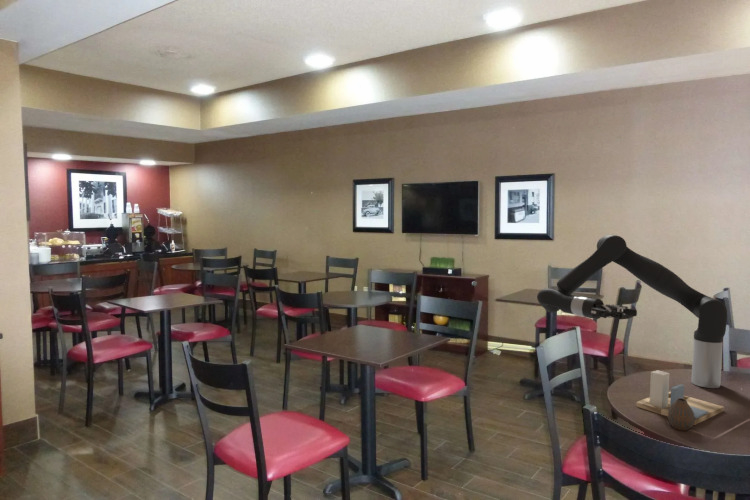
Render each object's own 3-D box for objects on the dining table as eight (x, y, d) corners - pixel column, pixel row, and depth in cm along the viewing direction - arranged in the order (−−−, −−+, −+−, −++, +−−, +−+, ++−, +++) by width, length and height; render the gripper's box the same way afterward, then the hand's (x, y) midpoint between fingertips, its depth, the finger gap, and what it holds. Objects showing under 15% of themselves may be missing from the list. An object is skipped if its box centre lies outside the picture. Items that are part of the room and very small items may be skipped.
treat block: (655, 405, 172) (657, 370, 171) (667, 408, 168) (669, 373, 168) (649, 407, 169) (650, 372, 169) (661, 411, 166) (663, 375, 165)
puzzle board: (666, 396, 182) (666, 390, 182) (723, 412, 167) (723, 406, 167) (636, 407, 170) (636, 401, 170) (694, 426, 156) (694, 420, 156)
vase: (690, 425, 157) (692, 397, 156) (696, 434, 150) (698, 405, 150) (665, 421, 159) (666, 394, 159) (670, 430, 153) (671, 402, 152)
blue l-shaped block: (680, 405, 167) (681, 383, 166) (707, 413, 160) (708, 390, 160) (668, 410, 162) (669, 388, 162) (695, 418, 156) (696, 395, 155)
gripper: (575, 298, 185) (618, 305, 172) (598, 295, 193) (641, 301, 180) (575, 319, 185) (617, 327, 172) (597, 315, 193) (640, 322, 180)
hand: (629, 314), depth 176 cm, fingers open, 8 cm apart
